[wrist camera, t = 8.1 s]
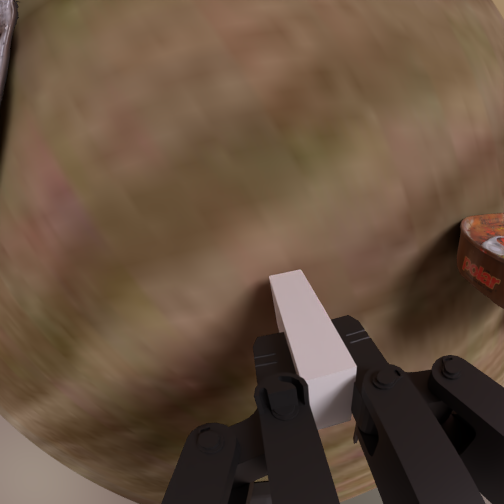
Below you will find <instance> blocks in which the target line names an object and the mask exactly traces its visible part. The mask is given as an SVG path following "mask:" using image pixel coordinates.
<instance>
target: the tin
mask: <svg viewBox="0 0 504 504" xmlns="http://www.w3.org/2000/svg"><path fill="white" fill-rule="evenodd" d="M460 229H461V234H460V240H459V246H458V251H457V267H458V270H459V272H460V274H461V275H462V276H463V277H464V278H465V279H466V280H468V281H469V282H470V283H471V284H472V285H473V286H474V287H475V288H476V289H478V290H479V291H480V292H482V293H483V294H484V295H486V296H487V297H489V298H490V299H491V300H492V301H493V302H494V303H496V304H497V305H498V306H500V307H502V308H504V213H497V214H486V215H476V216H469V217H467V218H465V219H463V220H462V222H461V224H460Z"/></svg>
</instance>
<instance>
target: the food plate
mask: <svg viewBox="0 0 504 504" xmlns="http://www.w3.org/2000/svg"><path fill="white" fill-rule="evenodd" d="M12 1H14V3H13V2H12ZM16 2H18V1H16ZM16 2H15V0H0V107H1V101H2V99H3V98H2V96H3V93H4V91H3V90H4V87H5V83H6V78H7V73H8V71H7V70H8V69H7V68H8V67H9V66H8V65H9V59H10V49H9V48H11V46H10V45H11V44H10V43H11V40H12V34H13V30H14V28H15V25H16V22H17V19H18V18H19V17H18V11H17V8H18V7H19V6H18V4H17V3H16Z"/></svg>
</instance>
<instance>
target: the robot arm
mask: <svg viewBox="0 0 504 504" xmlns="http://www.w3.org/2000/svg"><path fill="white" fill-rule="evenodd" d="M269 280H270V286H271V291H272V297H273V303H274V308H275V314H276V320H277V325H278V329H279V333H276V334H271V335H266V336H261V337H257V339H256V341H255V343H254V346H253V352H254V360H255V368H256V375H257V383H258V385H257V387H256V388H255V393H254V398H255V401H256V404H257V409H256V411H255V412H254V414H252V415H251V416H250V417H249V418H248V419H246V420H244V421H242V422H240V423H237V424H235V425H232V426H230V427H227V426H226V425H223V424H219V423H207V424H204V425H201V426H198V427H197V428H196V429H194V430H193V431H192V432H191V433H190V435H189V436H188V438H187V440H186V442H185V445H184V447H183V450H182V452H181V455H180V458H179V460H178V463H177V465H176V468H175V470H174V473H173V475H172V478H171V481H170V483H169V486H168V488H167V491H166V493H165V496H164V498H163V501H162V503H161V504H340V503H339V499H338V496H337V493H336V489H335V486H334V482H333V479H332V476H331V472H330V469H329V466H328V463H327V459H326V456H325V453H324V449H323V446H322V443H321V440H320V436H319V433H318V430H319V429H323V428H326V427H330V426H334V425H337V424H340V423H344V422H347V421H350V420H351V414H353V416H354V418H355V421H356V427H355V432H354V437H353V441H354V444H355V443H357V440H359V442H360V445H361V447H362V450H363V452H364V455H365V457H366V460H367V462H368V465H369V467H370V470H371V472H372V475H373V477H374V480H375V483H376V485H377V488H378V491H379V493H380V496H381V498H382V501H383V504H485V502H484V500H483V498H482V496H481V494H482V495H483V496H484V497H486V499H488V500H489V501H490V502H491V503H492V504H504V388H503V387H502V386H501V385H499V384H498V383H497V382H495V381H494V380H492V379H491V378H490V377H488V376H487V375H485V374H484V373H483V372H481V371H480V370H478V369H477V368H476V367H474V366H473V365H471V364H470V363H468V362H467V361H466V360H464V359H462V358H460V357H458V356H453V355H448V356H443V357H441V358H439V359H437V360H436V361H435V363H434V364H433V366H432V369H431V370H426V371H419V372H404V371H403V370H402V369H401V368H400V367H397V366H395V365H391V364H389V363H388V362H387V361H386V359H385V358H384V357H383V355H382V354H381V352H380V351H379V349H378V348H377V346H376V345H375V344H374V342H373V341H372V339H371V338H369V335H368V334H367V332H366V331H365V330H364V328H363V327H362V325H361V324H360V322H359V321H358V320H356V319H354V318H353V317H351V316H349V315H347V316H343V317H339V318H335V319H332V320H330V318H329V316H328V315H327V313H326V311H325V309H324V308H323V306H322V304H321V303H320V301H319V299H318V298H317V296H316V294H315V292H314V291H313V289H312V287H311V286H310V284H309V282H308V281H307V279H306V277H305V276H304V274H303V272H302V271H301V269H300V270H295V271H291V272H286V273H281V274H276V275H271V276H269ZM267 475H268V479H269V482H261V483H254V481H255V480H257V479H260V478H262V477H264V476H267ZM480 493H481V494H480Z"/></svg>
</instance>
